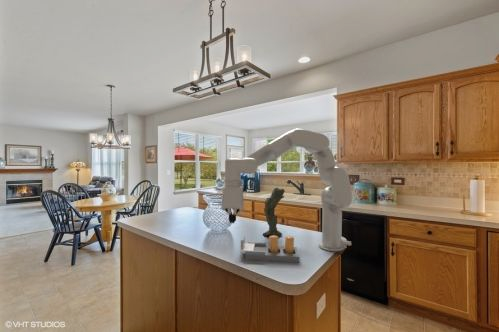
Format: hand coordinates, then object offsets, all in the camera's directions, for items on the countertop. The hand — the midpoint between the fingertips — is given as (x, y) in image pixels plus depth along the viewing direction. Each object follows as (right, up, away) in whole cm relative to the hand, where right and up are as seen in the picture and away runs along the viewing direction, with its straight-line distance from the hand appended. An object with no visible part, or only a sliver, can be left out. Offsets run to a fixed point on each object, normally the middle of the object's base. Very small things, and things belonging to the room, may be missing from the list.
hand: (232, 222), depth 112 cm
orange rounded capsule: (+20, -15, -2) cm, 25 cm away
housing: (+19, -15, -2) cm, 24 cm away
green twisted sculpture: (+23, -15, +29) cm, 40 cm away
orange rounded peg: (+27, -15, -2) cm, 31 cm away
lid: (+7, -12, -1) cm, 14 cm away
